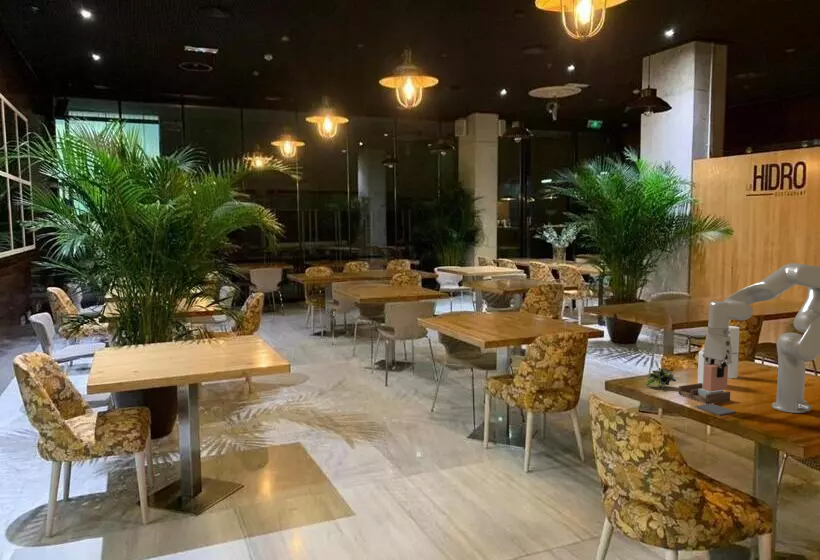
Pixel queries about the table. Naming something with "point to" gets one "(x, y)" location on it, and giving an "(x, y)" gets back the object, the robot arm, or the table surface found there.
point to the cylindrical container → (734, 352)
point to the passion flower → (660, 377)
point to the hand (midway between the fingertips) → (716, 375)
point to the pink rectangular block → (714, 378)
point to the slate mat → (715, 409)
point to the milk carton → (702, 366)
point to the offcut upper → (707, 392)
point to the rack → (692, 393)
